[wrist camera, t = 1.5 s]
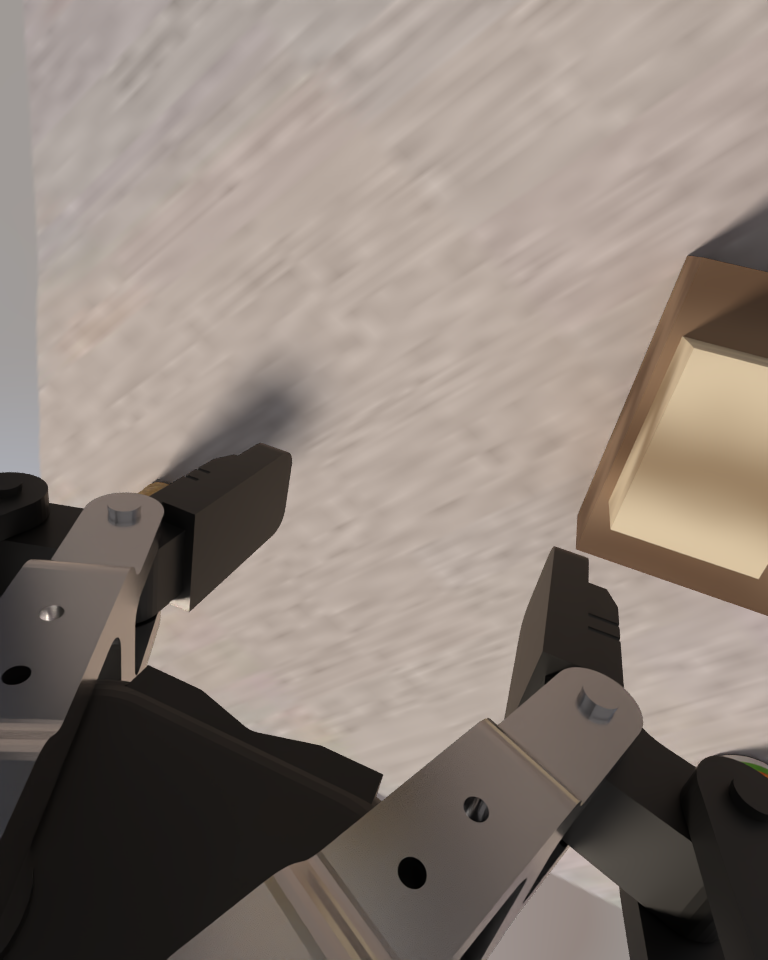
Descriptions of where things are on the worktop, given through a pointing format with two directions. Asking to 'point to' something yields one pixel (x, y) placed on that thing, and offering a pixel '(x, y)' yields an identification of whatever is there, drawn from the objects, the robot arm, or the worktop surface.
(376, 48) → the worktop surface
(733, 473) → the birch block
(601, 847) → the robot arm
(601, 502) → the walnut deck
